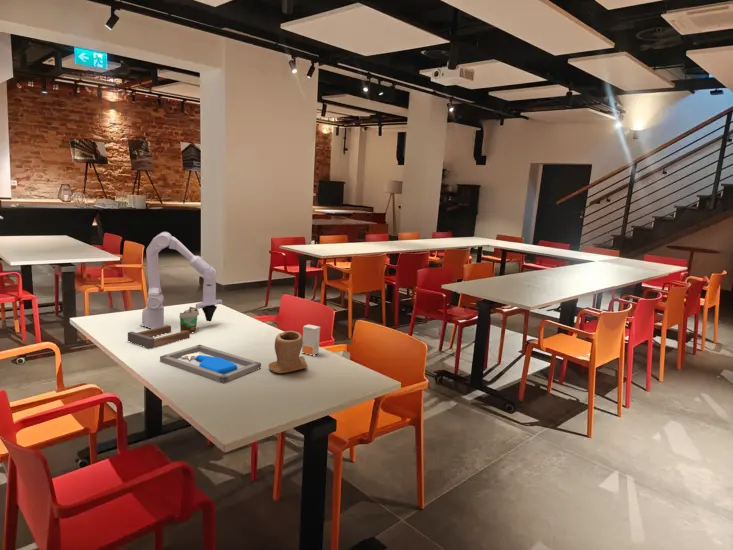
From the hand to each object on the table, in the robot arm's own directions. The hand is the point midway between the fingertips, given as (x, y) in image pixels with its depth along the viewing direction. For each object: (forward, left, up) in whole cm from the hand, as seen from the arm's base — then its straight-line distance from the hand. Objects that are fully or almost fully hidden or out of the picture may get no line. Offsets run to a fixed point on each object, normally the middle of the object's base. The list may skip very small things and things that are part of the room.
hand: (208, 320), depth 232 cm
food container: (0, -10, -3) cm, 11 cm away
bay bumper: (0, -36, -3) cm, 37 cm away
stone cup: (+64, -19, -3) cm, 67 cm away
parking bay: (0, -26, -3) cm, 27 cm away
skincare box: (+59, +1, -3) cm, 59 cm away
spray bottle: (+38, -35, -4) cm, 52 cm away
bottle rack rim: (+38, -34, -3) cm, 51 cm away
